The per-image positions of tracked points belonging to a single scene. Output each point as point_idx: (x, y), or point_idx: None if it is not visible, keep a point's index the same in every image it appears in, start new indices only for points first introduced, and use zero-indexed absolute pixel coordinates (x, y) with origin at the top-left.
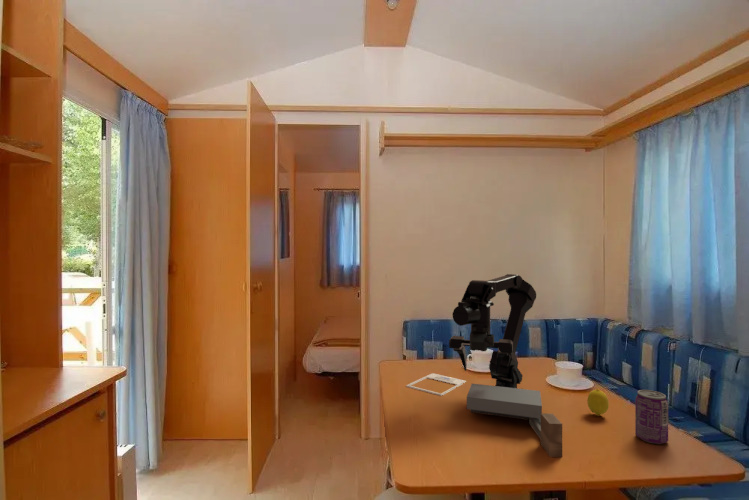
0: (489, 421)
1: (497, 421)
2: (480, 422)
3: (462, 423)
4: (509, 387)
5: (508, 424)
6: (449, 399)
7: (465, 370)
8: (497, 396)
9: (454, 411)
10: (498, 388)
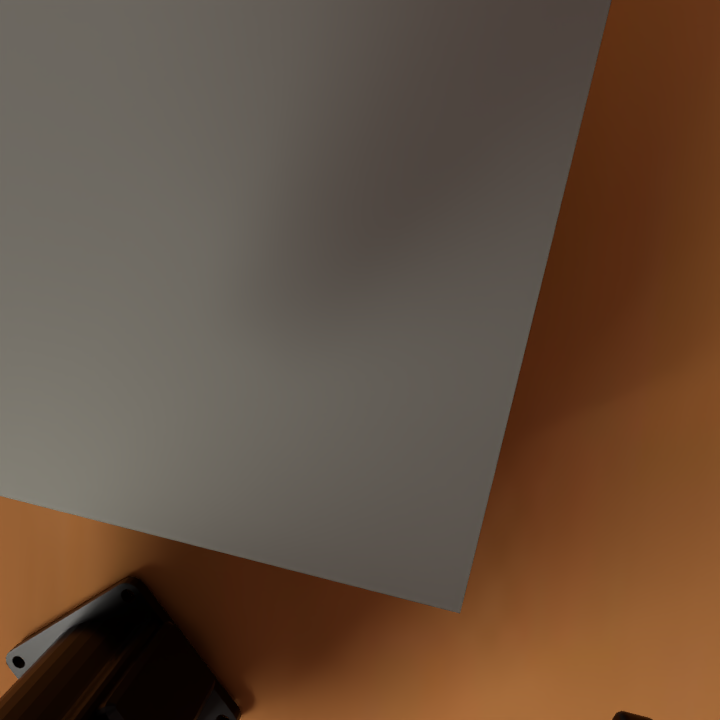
0: None
1: None
2: None
3: (617, 11)
4: (18, 707)
5: None
6: (687, 645)
7: (631, 713)
8: (96, 61)
9: (671, 333)
10: (77, 427)
